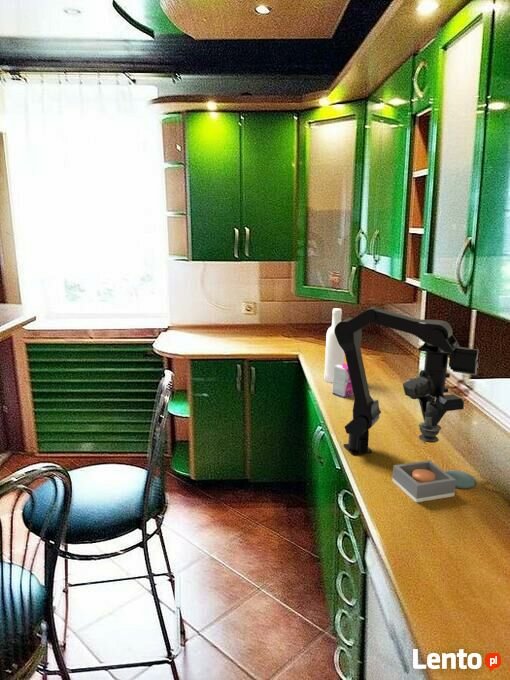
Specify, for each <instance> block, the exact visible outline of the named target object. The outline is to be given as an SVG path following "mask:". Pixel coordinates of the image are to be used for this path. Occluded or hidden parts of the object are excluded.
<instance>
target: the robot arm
mask: <svg viewBox="0 0 510 680" xmlns="http://www.w3.org/2000/svg"><path fill="white" fill-rule="evenodd" d="M370 324H375V325H378V326H382V327H386V328H389V329H393V330H396V331H400V332H404V333H407V334H411V335H413V336H415V337H417V338H418V339H419V340H421V341H422V342H424V343H423V344H422V345H421V346H419V347H418V348H417V350H418V352H425V356H424V358H425V359H424V367H423V369H421V370H420V372H419V374H418V376H417V377H414V378H407V379H406V380H405V382H403V383H402V387H403V391H404V395H405V396H407V397H408V398H410V399H412V400H418V402H419V406H420V410H421V414H422V418H423V421H424V420H425V414H424V412H425V411H426V406H427V402H428V401H429V400H432V397H433V400H434V401H435V403H429V405H430V406H431V408H432V426H437V425H439V423H440V421H441V420H442V418H443V417H444V415H445V414H446V413H447V412H452V411H461V410H464V407H465V401H464V399H463V398H462V397H459V396H457V395H456V394H453V393H451V394H446V393H449V388H448V387H446V382H447V379H449V378H450V377H451V374H450V373H449V372H447V371H448V368H450V370H452V372H454V373H460V374H465V375H470V376H471V375H472V376H476V375H477V374H478V371H477V368H478V369H479V366H478V361H477V360H478V353H479V348H477V349H471V348H472V347H463V346H460V344H459V342H458V341H457V339H456V337H455V336H454V334H453V331H454V330H453V328H452V326H451V324H450V323H449V322H448V321H445V320H439V319H438V320H437V319H421V318H420V319H418V318H414V317H411V316H407V315H405V314H404V315H403V314H400V313H396V312H393V311H388V310H385V309H383V308H379V307H376V306H371V307H369V308H368V309H365V310H364V312H361V313H360V314H358V315H357V316H355V317H349V318H346V319H344V320H341V322H339V323H338V324H337V325H336V327H335V329H334V332H335V336H336V338H337V341H338V343H339V345H340V347H341V348H342V349H343V351H344V358H345V360H346V364H347V367H348V371H349V376H350V381H351V386H352V390H353V395H352V396H353V400H354V401H353V407H352V419H351V420H350V421H349V422H348V423H347V424H346V425H345V426H344V429H345V432H346V434H347V435H348V443H344V444H343V447H344V448H345V449H346V450H347V451H348V452H349V453H350V454H351V455H353V456H355V455H363V454H364V455H365V454H369V453H370V454H371V453H373V449H371V448H370V447H369V443H370V442H369V439H370V438H369V437H370V435H369V433H370V431H369V430H370V429H371V428H372V427H373V426H374V425H375V424H376V423H377V422H378V421H379V419H380V415H381V413H382V411H381V408H380V406H379V405H380V403H379V402H380V401H379V400H378V399H376V400H374V399H373V397H372V396H371V393H370V389H369V384H368V383H369V382H368V380H367V374H366V371H365V370H366V369H365V366H364V361H363V360H364V359H363V354H362V351H361V346H362V340H363V331H362V329H364V328H366V327H367V326H369V325H370Z"/></svg>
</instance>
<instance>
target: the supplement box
mask: <svg viewBox="0 0 510 680" xmlns="http://www.w3.org/2000/svg"><path fill="white" fill-rule="evenodd" d="M331 393H332V395H334V396H337V397H340V398H342V399H344V398H346V397H350V396H354V395H353V390H352V386H351V381H350V376H349V371H348V367H347V363H345V362H344V364H340V365H336V366H334V380H333V383H332V392H331Z"/></svg>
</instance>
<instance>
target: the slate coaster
mask: <svg viewBox="0 0 510 680" xmlns="http://www.w3.org/2000/svg"><path fill="white" fill-rule="evenodd" d="M444 471H445V472H446V473H448V474H449V475H450V476H451V477H453V478H454V479H455V480H456V485H455V489H461V490H464V489H465V490H466V489H471V488H474V486H475V485H476V479H475V477H474V476H472V475H471V474H469V473H467V472H464V471H460V470H455V469H450V470H444Z"/></svg>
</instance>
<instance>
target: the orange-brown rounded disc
mask: <svg viewBox="0 0 510 680" xmlns="http://www.w3.org/2000/svg"><path fill="white" fill-rule="evenodd" d="M412 478H413V479H414V480H415V481H417V482H419V483H424V482H431V481H435V474H434V473H433V472H431V471H429V470H425V469H416V470H414V471H413V472H412Z"/></svg>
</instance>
